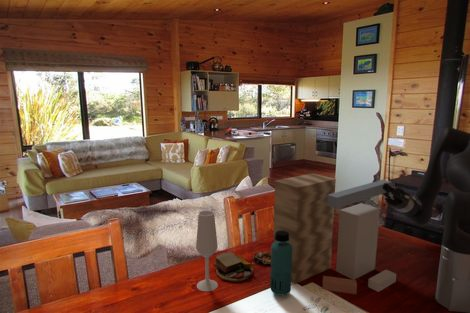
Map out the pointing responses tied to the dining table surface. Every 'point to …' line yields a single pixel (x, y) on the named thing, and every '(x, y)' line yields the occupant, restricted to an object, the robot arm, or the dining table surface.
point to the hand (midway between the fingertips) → (378, 184)
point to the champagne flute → (206, 245)
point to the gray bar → (356, 194)
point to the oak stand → (305, 222)
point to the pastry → (263, 257)
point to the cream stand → (357, 240)
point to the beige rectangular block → (382, 280)
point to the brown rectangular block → (339, 285)
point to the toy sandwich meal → (232, 267)
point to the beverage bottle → (281, 264)
